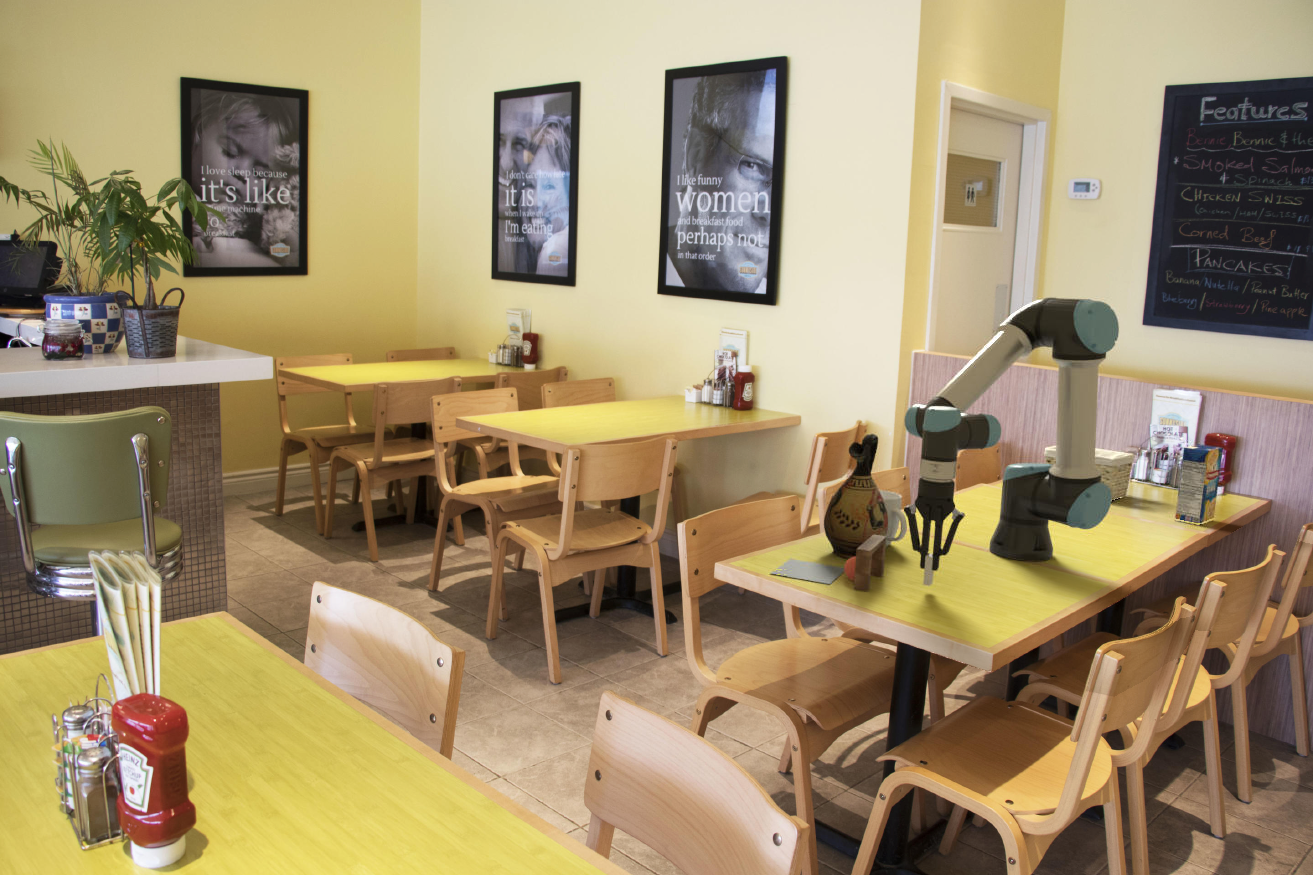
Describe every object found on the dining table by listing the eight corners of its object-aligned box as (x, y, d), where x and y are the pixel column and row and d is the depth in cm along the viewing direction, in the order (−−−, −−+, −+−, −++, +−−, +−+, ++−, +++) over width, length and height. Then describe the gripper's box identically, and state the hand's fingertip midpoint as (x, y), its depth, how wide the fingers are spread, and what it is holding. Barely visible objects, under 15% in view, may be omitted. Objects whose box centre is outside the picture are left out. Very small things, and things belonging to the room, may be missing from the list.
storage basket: (1037, 490, 339) (1042, 446, 337) (1060, 484, 350) (1065, 442, 348) (1110, 504, 322) (1115, 458, 319) (1131, 498, 333) (1137, 453, 330)
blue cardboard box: (1174, 520, 303) (1183, 447, 299) (1189, 515, 310) (1198, 444, 306) (1198, 525, 298) (1208, 451, 294) (1213, 520, 305) (1223, 447, 301)
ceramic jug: (872, 567, 243) (882, 442, 238) (812, 555, 251) (820, 434, 246) (896, 552, 257) (906, 434, 252) (838, 541, 265) (846, 426, 260)
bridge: (883, 574, 237) (886, 536, 236) (867, 591, 224) (870, 550, 223) (870, 572, 239) (873, 534, 237) (853, 589, 226) (856, 548, 224)
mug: (918, 550, 260) (922, 499, 257) (887, 555, 254) (891, 504, 251) (875, 536, 272) (879, 487, 270) (845, 540, 266) (848, 491, 264)
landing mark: (847, 569, 241) (847, 568, 241) (829, 584, 228) (829, 583, 228) (790, 559, 247) (790, 558, 247) (770, 574, 234) (770, 573, 234)
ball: (872, 577, 233) (871, 554, 232) (865, 584, 228) (864, 560, 228) (849, 576, 236) (847, 553, 235) (841, 583, 231) (840, 559, 230)
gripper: (902, 477, 221) (894, 583, 225) (964, 485, 215) (955, 593, 219) (910, 471, 228) (902, 574, 232) (971, 479, 222) (961, 584, 226)
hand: (927, 583), depth 226 cm, fingers closed
